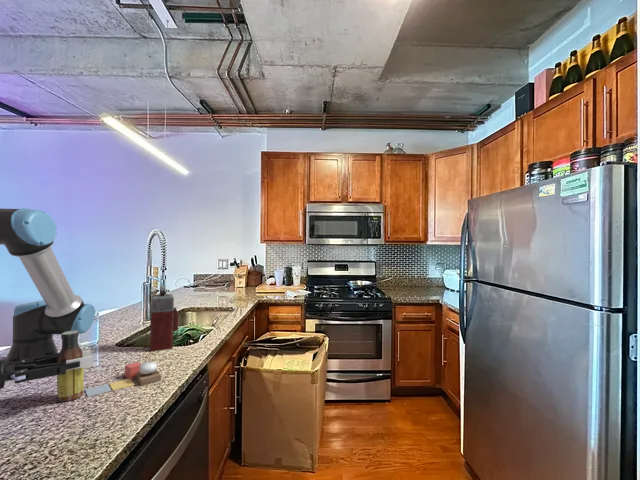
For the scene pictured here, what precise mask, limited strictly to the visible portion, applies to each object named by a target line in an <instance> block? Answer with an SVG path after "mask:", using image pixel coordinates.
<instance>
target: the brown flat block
mask: <svg viewBox="0 0 640 480" xmlns="http://www.w3.org/2000/svg"><path fill="white" fill-rule="evenodd" d="M134 379H135V380H136V381H137V383H139V385H140V386H141V387H142V386H146V385H150V384H154V383H157V382H162V375H161V373H160V372H159V371H158V370H156V371H155V372H153V373H149V374H141V373H140V371H139V372H135V378H134Z"/></svg>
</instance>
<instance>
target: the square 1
mask: <svg viewBox="0 0 640 480" xmlns="http://www.w3.org/2000/svg"><path fill="white" fill-rule="evenodd" d="M84 391H85V394H86V397H87V398H90V397H94V396H98V395H102V394H106V393H109V392H112V388H111V386H110V384H108V383H106V384H102V385H98V386H93V387H90V388H86V389H85V390H84Z"/></svg>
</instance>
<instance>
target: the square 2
mask: <svg viewBox="0 0 640 480" xmlns="http://www.w3.org/2000/svg"><path fill="white" fill-rule="evenodd" d="M133 386H135V383H134V382H133V380H132V379H129V378H127V379H123V380H119V381H115V382H110V383H109V387H110V389H111V391H118V390H121V389H125V388H129V387H133Z"/></svg>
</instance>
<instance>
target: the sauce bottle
mask: <svg viewBox="0 0 640 480" xmlns="http://www.w3.org/2000/svg"><path fill="white" fill-rule="evenodd" d="M79 335H80V334H79V333H78V331H67V332H64V333H62V334H61V336H60V338H61V349H60V351H59V352H58V353H59V354H58V357H57V363H62V362H66V361H67V360H72V359H78V358H83V353H82V351H83V350H82V348H81V347H80V345H79V342H78V341H79V340H78V338H79ZM84 383H85V382H84V367H82V368H77V369H72V370H67V371H66V374H64V375H62V374H61V375H56V391H57V392H56V393H57V400H58V401H59V402H64V403H65V402H70V401H75V400H76V399H78V398H79V399H80V397H82V396H83V394H84Z"/></svg>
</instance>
